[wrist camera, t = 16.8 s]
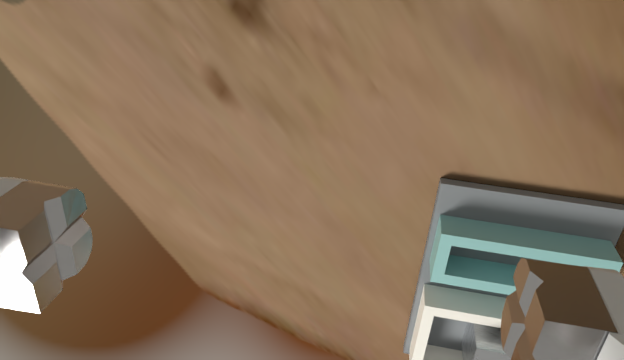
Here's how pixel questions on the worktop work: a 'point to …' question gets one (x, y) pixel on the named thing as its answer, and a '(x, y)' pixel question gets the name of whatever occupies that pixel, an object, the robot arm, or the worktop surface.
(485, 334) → the steel block
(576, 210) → the holder
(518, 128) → the worktop surface
